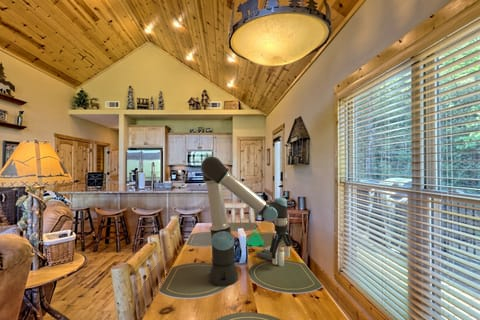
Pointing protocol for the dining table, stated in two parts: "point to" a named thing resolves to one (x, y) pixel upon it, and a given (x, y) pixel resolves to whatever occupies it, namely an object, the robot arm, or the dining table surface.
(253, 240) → the green triangular block
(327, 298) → the dining table surface
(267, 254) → the housing
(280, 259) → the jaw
